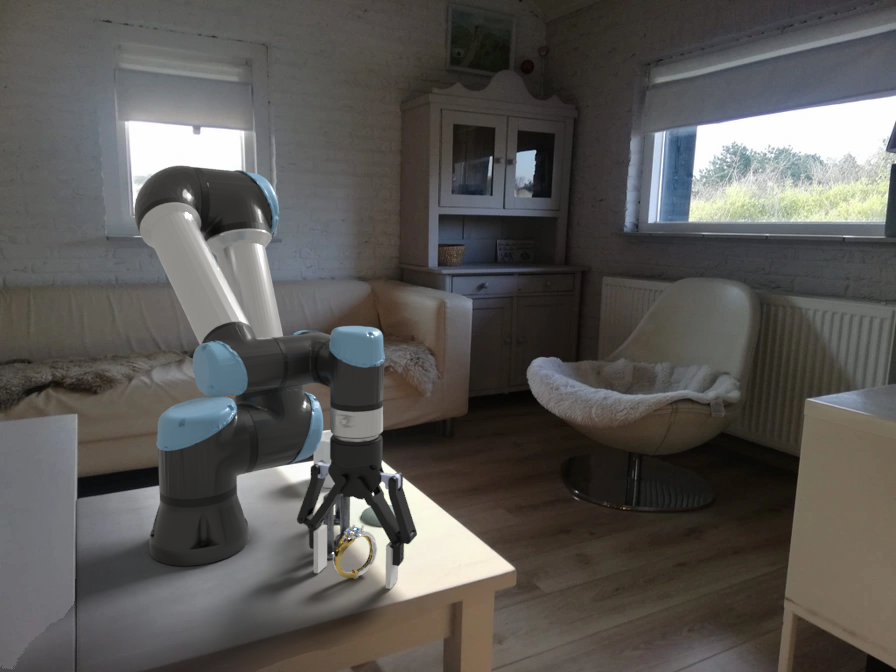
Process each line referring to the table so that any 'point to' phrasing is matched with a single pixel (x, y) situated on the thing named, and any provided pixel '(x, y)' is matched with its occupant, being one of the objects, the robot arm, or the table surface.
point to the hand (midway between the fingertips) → (355, 576)
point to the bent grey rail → (337, 522)
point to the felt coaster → (372, 516)
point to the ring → (339, 550)
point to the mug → (324, 455)
